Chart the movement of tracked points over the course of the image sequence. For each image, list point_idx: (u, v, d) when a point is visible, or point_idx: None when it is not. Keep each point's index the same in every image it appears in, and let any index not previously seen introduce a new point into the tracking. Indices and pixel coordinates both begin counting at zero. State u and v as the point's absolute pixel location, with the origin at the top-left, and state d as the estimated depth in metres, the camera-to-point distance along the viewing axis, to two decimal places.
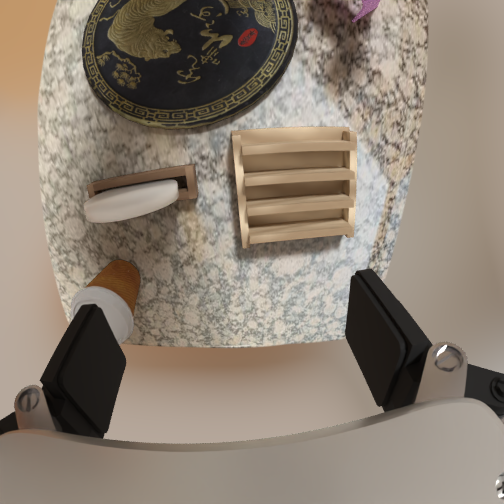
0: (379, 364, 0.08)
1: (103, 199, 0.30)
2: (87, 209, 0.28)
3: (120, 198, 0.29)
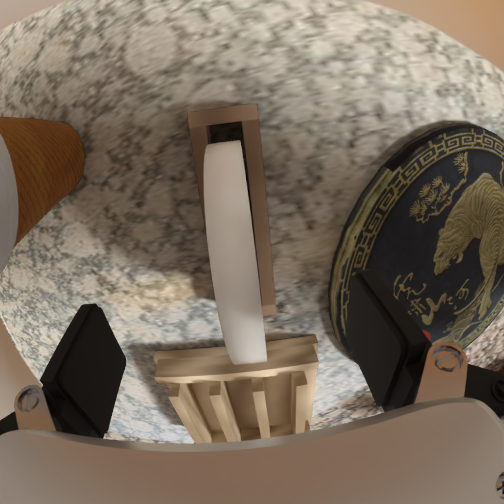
0: (379, 364, 0.08)
1: None
2: (247, 217, 0.10)
3: None
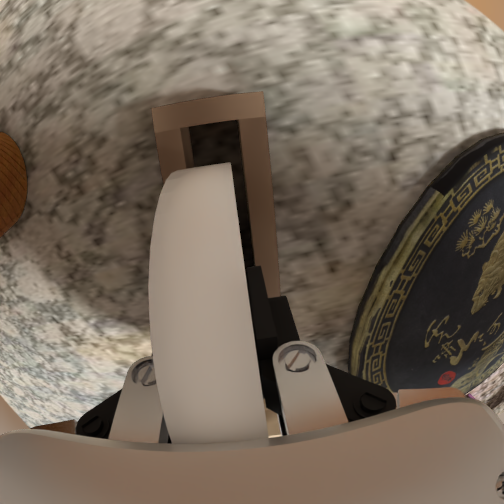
0: None
1: None
2: (255, 407, 0.04)
3: None
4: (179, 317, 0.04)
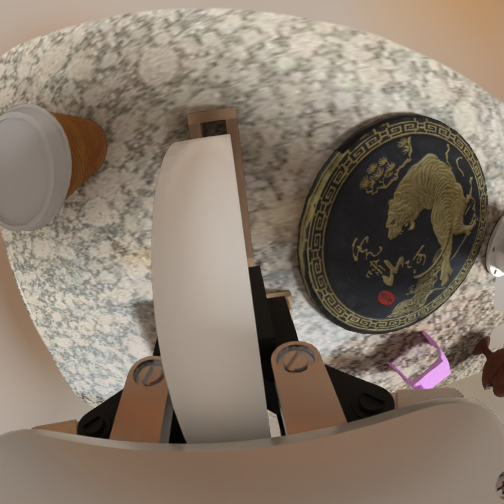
0: None
1: None
2: (256, 390, 0.04)
3: None
4: (183, 307, 0.04)
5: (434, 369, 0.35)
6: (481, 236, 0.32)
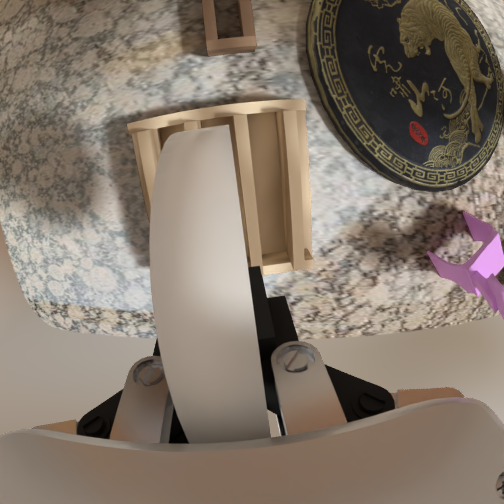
0: None
1: None
2: None
3: None
4: (210, 433, 0.05)
5: (490, 245, 0.25)
6: (502, 97, 0.22)
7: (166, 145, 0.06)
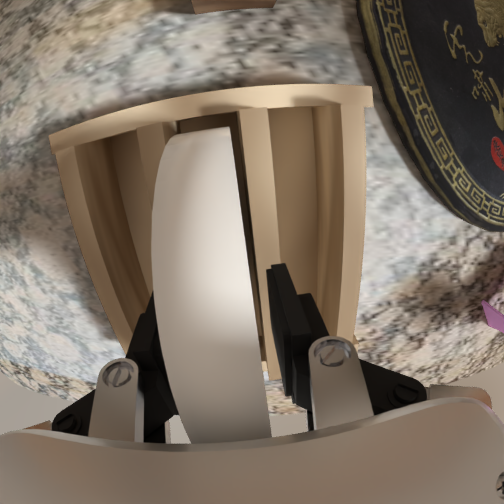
0: (280, 354, 0.09)
1: None
2: None
3: None
4: None
5: None
6: None
7: (156, 268, 0.05)
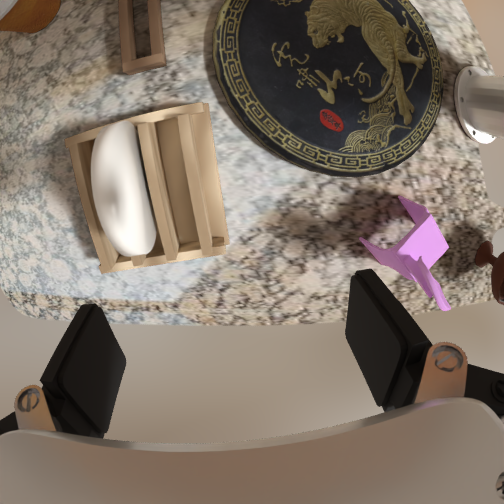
0: (378, 365, 0.07)
1: (127, 198, 0.20)
2: (125, 235, 0.20)
3: (140, 217, 0.23)
4: (106, 221, 0.18)
5: (422, 228, 0.28)
6: (439, 77, 0.26)
7: (95, 141, 0.18)
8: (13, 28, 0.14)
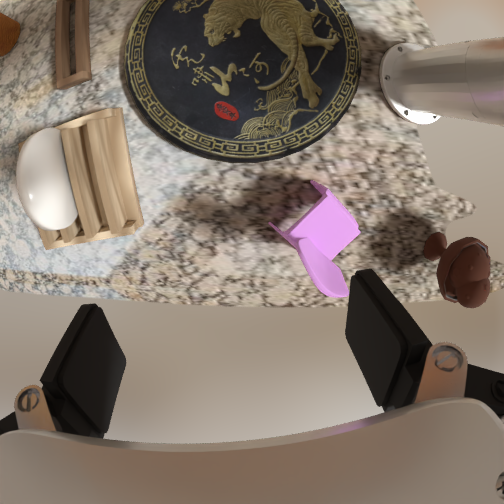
0: (379, 364, 0.08)
1: (42, 185, 0.23)
2: (36, 211, 0.22)
3: (56, 200, 0.26)
4: (24, 201, 0.21)
5: (318, 210, 0.31)
6: (356, 56, 0.28)
7: (23, 144, 0.21)
8: None
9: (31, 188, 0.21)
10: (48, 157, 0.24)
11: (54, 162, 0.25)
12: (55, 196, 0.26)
